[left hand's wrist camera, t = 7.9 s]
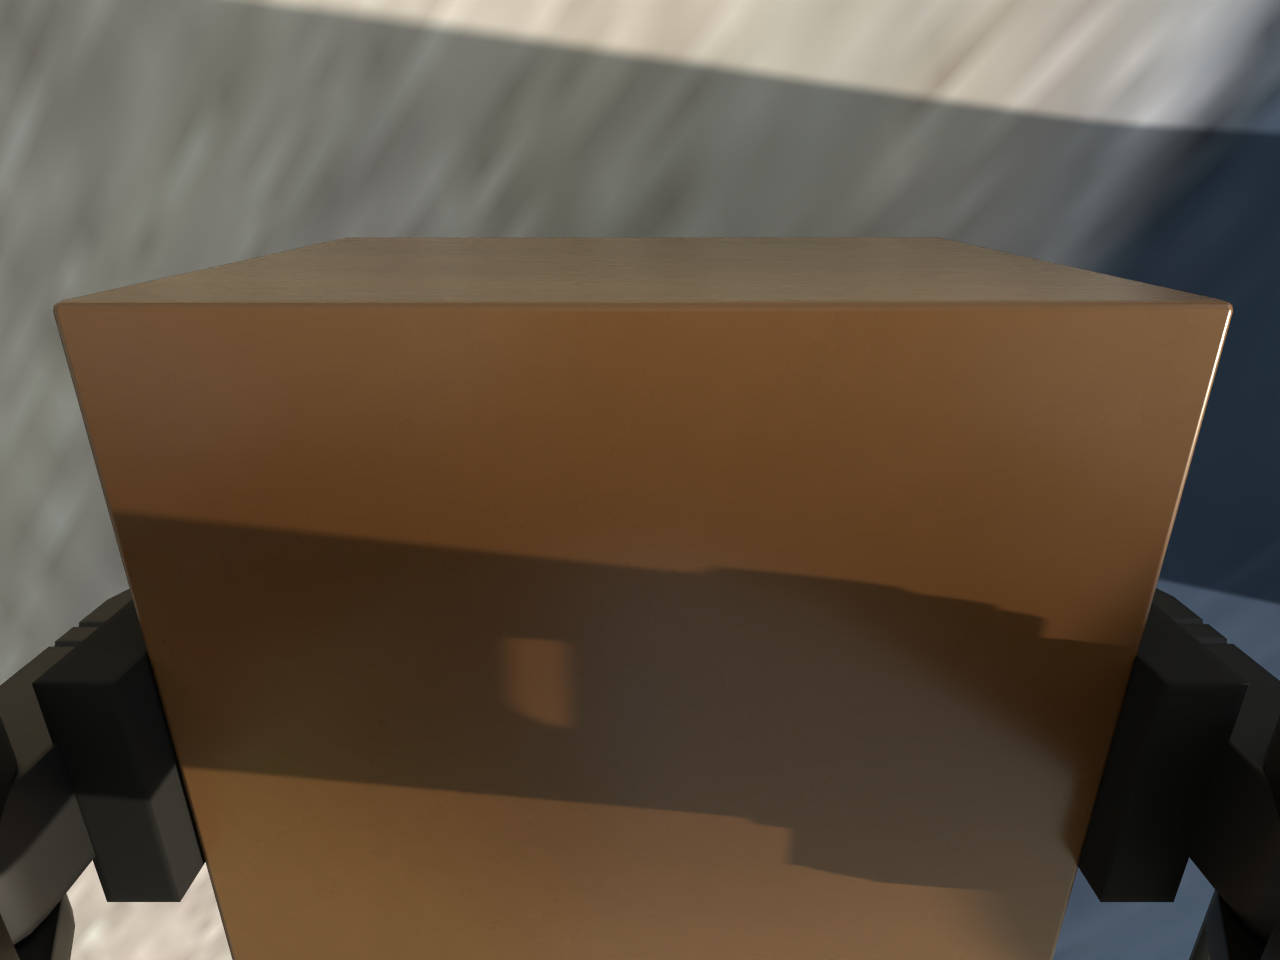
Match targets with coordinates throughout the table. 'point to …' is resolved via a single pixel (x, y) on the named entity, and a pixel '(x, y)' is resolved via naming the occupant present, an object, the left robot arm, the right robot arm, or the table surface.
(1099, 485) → the long beam
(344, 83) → the table surface
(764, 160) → the table surface
